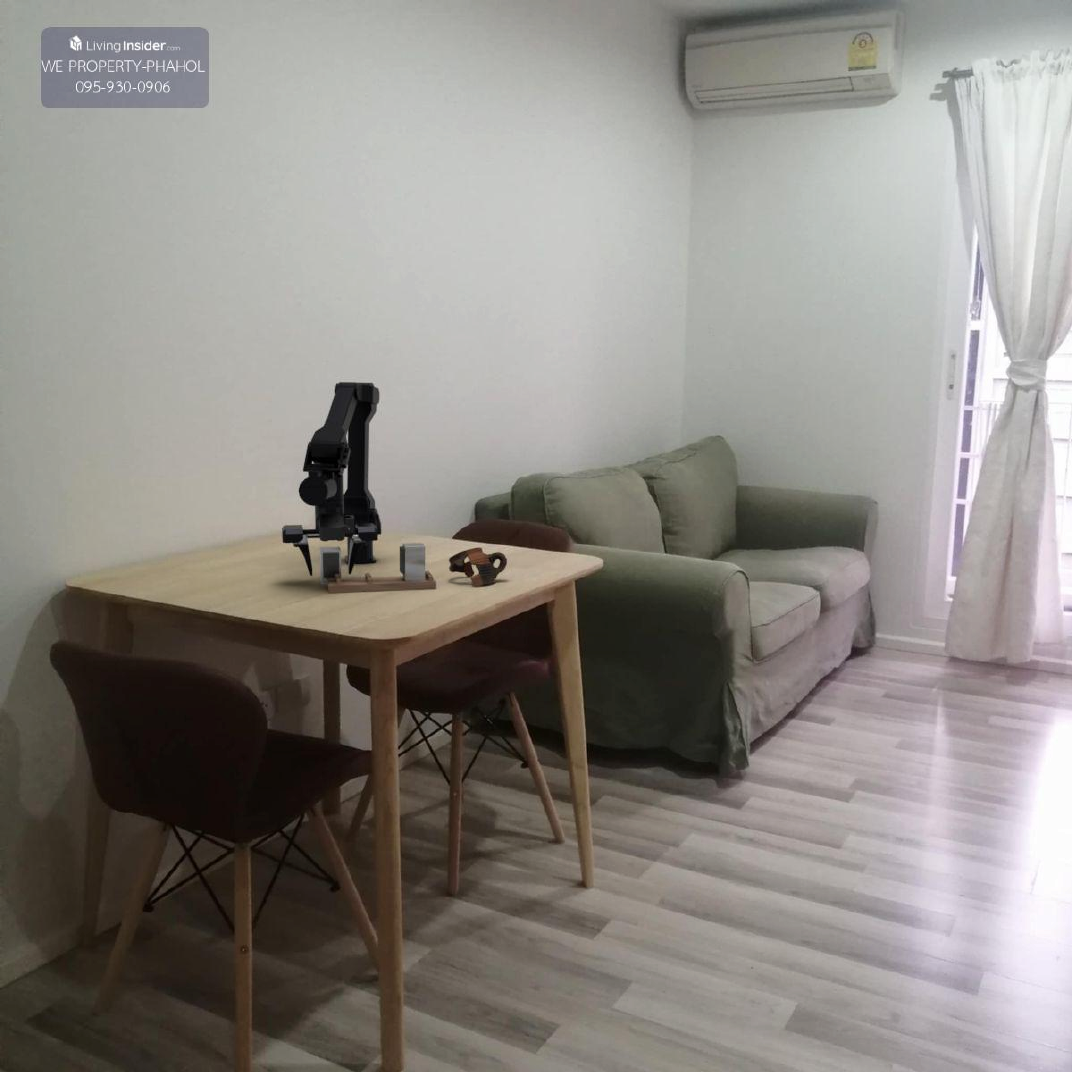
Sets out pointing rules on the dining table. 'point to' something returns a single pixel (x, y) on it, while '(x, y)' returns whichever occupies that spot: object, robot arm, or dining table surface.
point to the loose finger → (329, 563)
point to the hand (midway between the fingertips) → (330, 574)
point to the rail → (411, 579)
